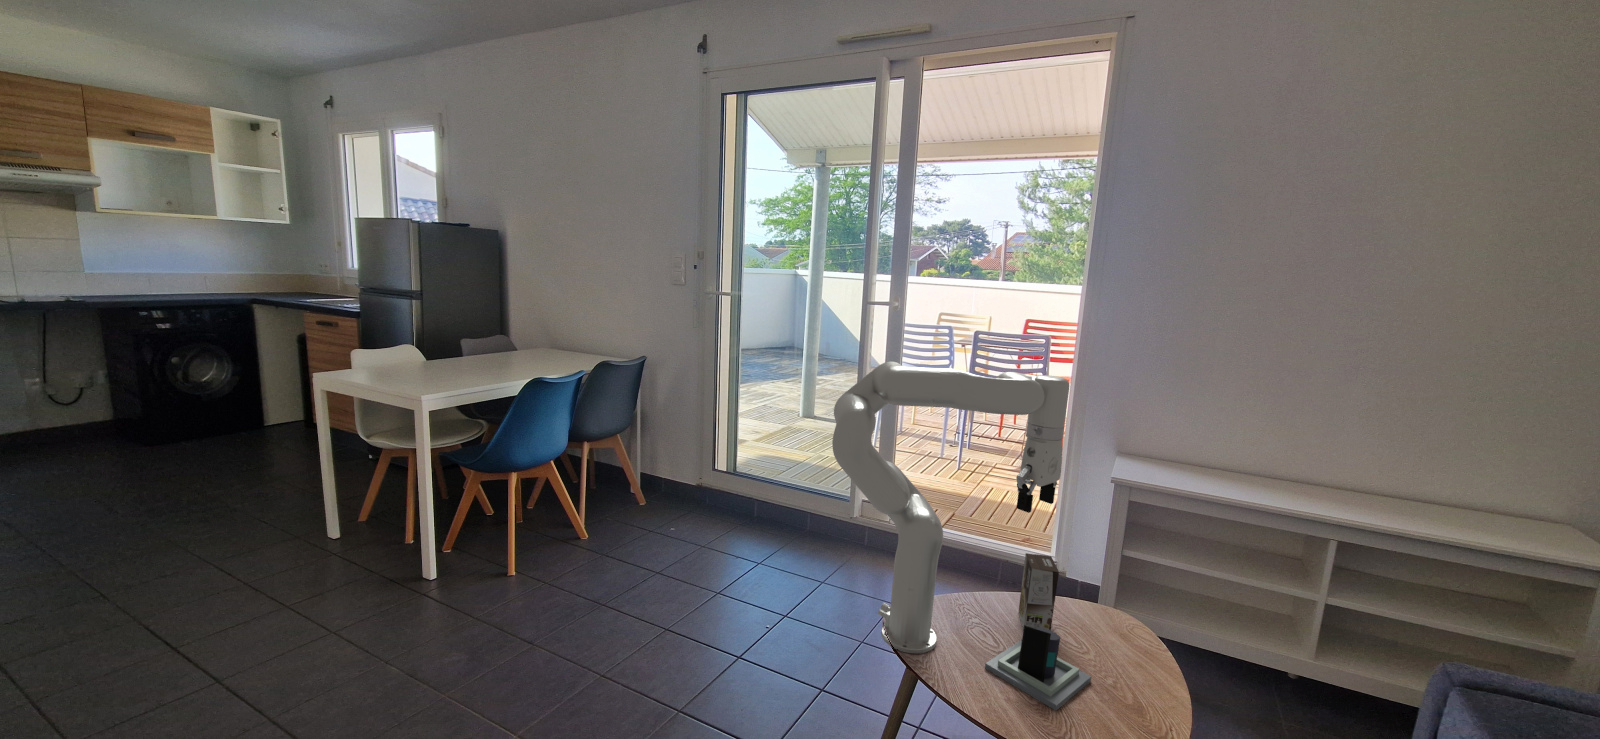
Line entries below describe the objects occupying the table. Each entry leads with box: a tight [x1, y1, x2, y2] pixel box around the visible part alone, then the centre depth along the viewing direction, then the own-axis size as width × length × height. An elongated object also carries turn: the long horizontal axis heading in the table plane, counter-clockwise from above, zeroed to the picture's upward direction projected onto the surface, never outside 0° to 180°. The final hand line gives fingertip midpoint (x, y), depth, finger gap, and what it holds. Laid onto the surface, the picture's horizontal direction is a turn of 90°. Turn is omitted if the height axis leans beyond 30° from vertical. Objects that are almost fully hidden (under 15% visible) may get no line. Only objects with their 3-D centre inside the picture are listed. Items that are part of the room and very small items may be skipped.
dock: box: [984, 639, 1092, 711], centre depth 131 cm, size 16×15×2 cm
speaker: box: [1018, 625, 1061, 682], centre depth 130 cm, size 8×6×10 cm
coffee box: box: [1018, 553, 1060, 631], centre depth 150 cm, size 9×6×16 cm
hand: (1035, 506), depth 138 cm, fingers open, 9 cm apart
